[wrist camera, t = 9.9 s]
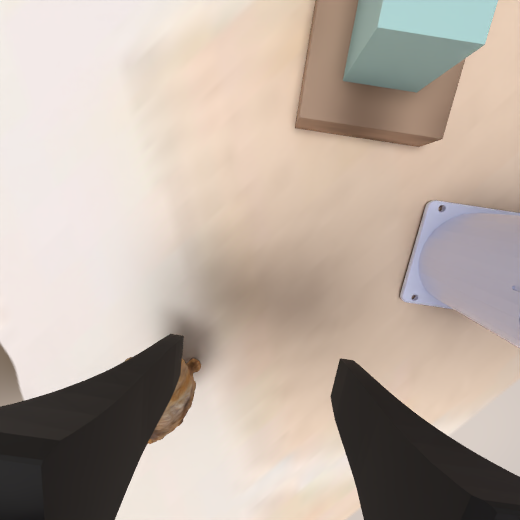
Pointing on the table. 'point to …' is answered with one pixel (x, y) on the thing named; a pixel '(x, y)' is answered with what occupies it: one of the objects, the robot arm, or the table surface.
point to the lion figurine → (177, 401)
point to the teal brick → (414, 40)
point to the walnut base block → (365, 90)
